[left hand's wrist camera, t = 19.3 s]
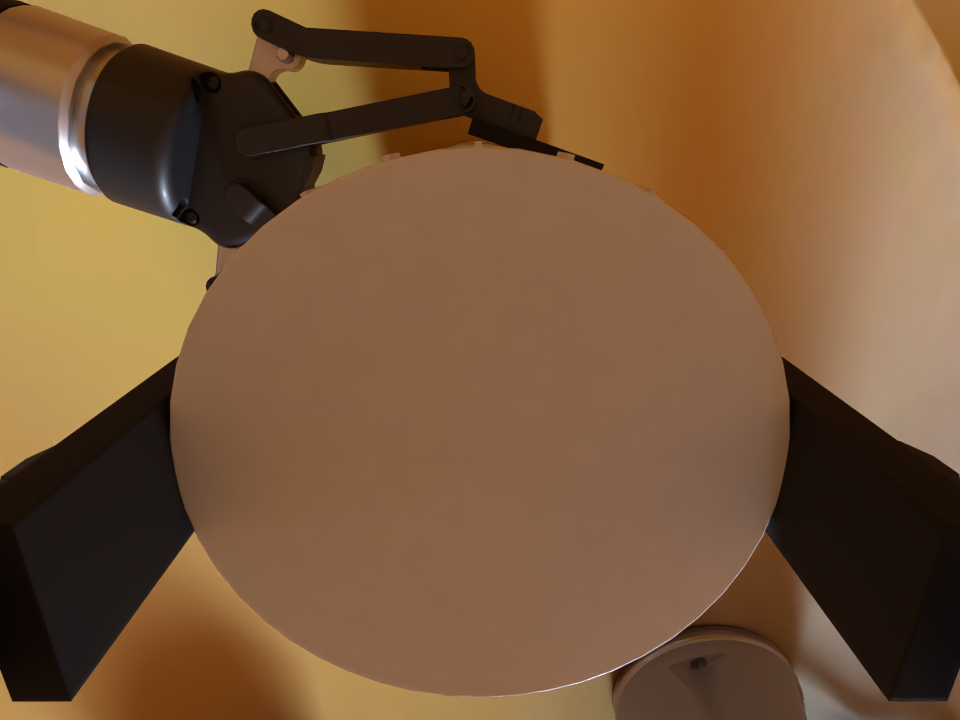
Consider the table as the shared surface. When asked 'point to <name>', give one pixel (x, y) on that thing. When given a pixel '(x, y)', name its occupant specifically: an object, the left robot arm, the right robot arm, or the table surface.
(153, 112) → the right robot arm
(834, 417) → the left robot arm
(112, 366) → the table surface
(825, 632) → the table surface
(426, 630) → the lid
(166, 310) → the table surface
